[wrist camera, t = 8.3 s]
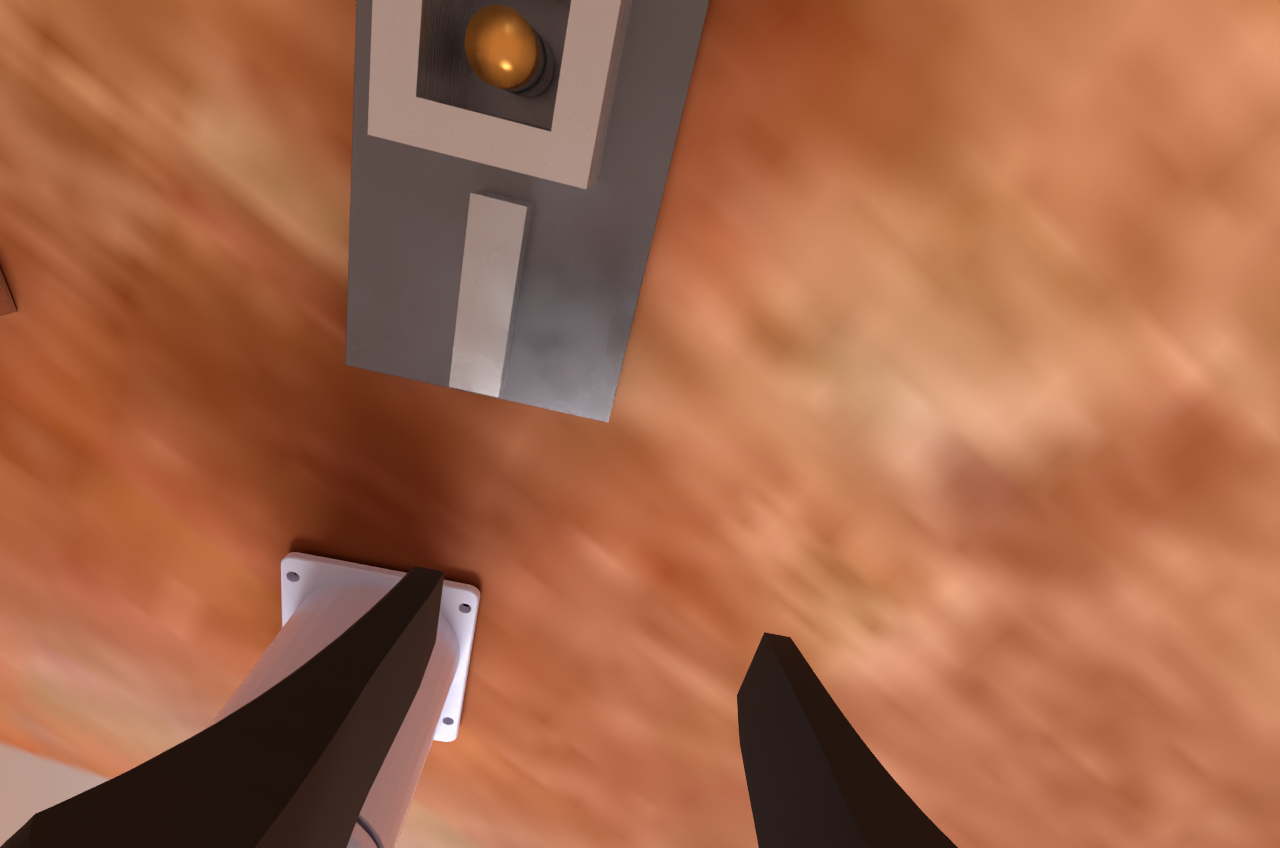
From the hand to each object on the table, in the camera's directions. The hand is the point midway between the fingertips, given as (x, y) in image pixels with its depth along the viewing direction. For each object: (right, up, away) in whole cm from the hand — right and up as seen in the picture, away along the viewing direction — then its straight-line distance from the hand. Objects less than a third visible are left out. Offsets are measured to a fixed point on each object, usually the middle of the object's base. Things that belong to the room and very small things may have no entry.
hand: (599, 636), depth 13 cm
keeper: (-3, +12, +5) cm, 14 cm away
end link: (-2, +15, +3) cm, 15 cm away
